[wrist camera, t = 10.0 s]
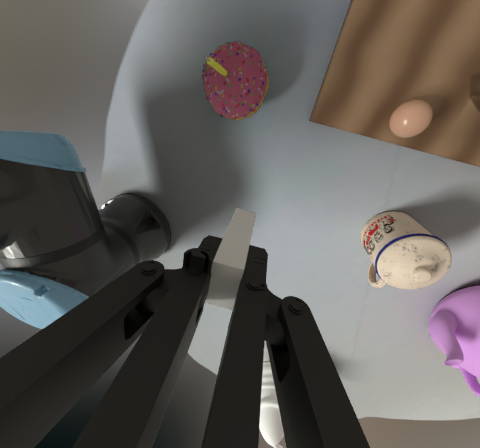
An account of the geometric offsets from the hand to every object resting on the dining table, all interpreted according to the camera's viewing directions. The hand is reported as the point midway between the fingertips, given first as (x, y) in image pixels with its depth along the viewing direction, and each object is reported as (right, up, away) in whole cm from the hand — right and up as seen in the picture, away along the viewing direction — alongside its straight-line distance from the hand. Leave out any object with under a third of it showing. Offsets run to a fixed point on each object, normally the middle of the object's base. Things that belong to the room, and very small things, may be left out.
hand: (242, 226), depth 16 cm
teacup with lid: (+25, -3, +23) cm, 34 cm away
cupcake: (0, +21, +16) cm, 26 cm away
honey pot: (+9, -37, +44) cm, 58 cm away
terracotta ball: (+20, +13, +11) cm, 26 cm away
